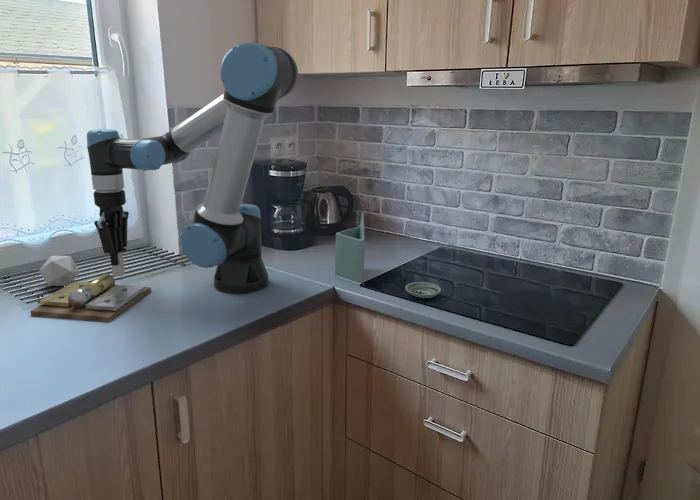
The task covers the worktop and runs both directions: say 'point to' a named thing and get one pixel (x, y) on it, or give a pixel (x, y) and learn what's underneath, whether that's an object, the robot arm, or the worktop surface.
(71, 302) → the fixed leaf
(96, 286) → the loose leaf
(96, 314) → the mount board
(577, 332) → the worktop surface
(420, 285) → the saucer
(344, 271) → the planter
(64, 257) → the die
